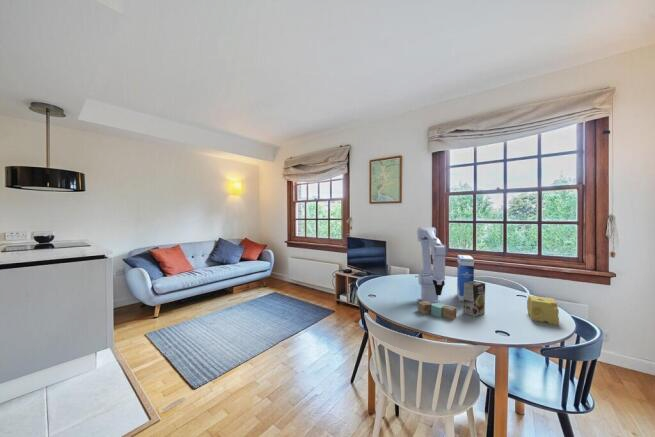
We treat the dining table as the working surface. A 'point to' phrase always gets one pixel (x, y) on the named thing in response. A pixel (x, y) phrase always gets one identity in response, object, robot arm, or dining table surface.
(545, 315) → the cheese
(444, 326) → the dining table surface
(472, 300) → the coffee box
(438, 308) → the plain block
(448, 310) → the digit block seven
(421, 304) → the digit block one
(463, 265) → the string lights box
